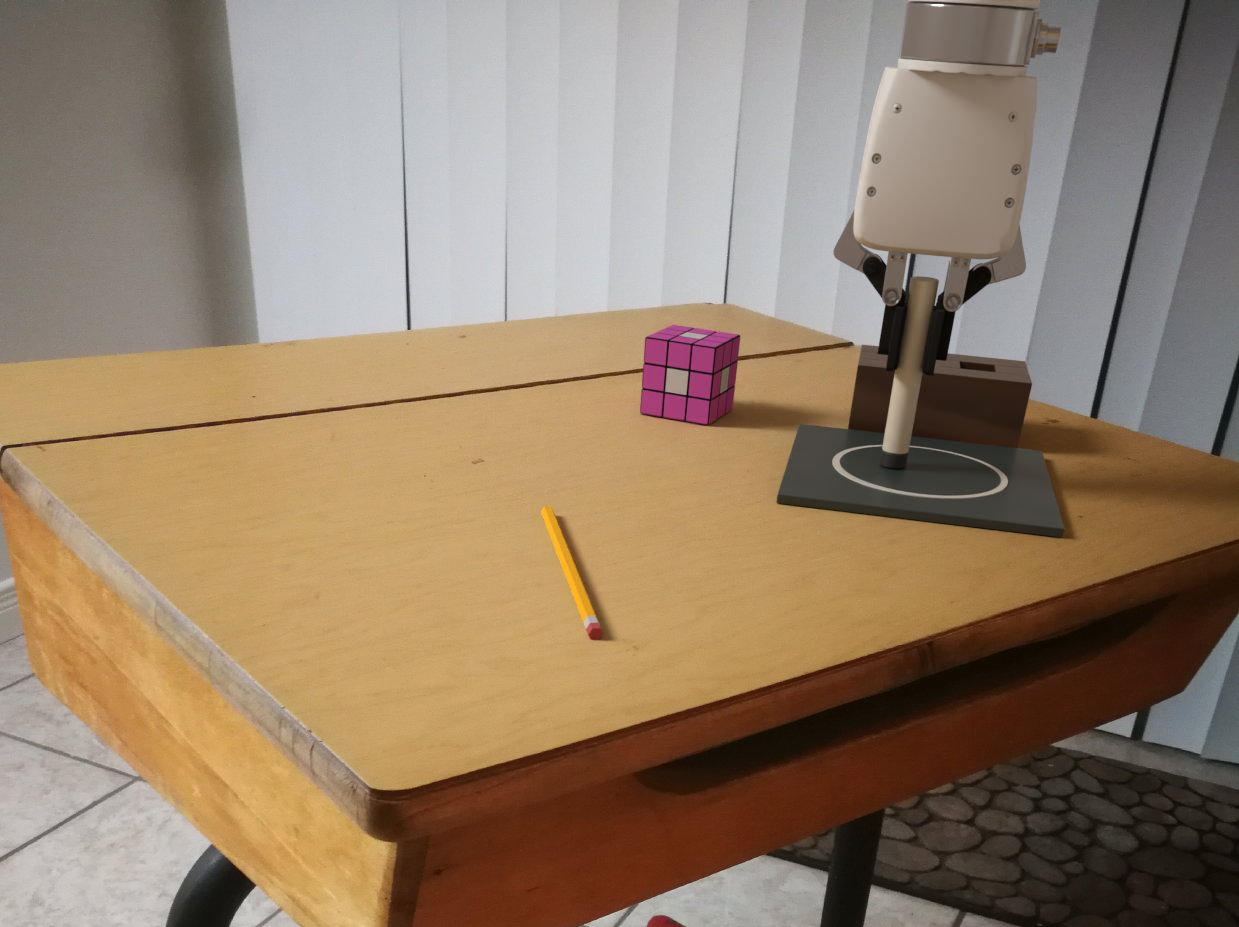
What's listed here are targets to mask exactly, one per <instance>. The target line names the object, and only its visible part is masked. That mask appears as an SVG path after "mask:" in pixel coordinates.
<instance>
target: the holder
mask: <svg viewBox="0 0 1239 927" xmlns="http://www.w3.org/2000/svg"><path fill="white" fill-rule="evenodd" d="M878 347H879V345H872V344H861V347H860V352H859V358H858V363H857V369H856V375H855V380H854V388H853V394H852V400H851V407H850V413H849V418H848V419H849V420H848V426H847V429H851V430H860V431H869V432H878V433H885V429H886V423H887V417H888V411H889V405H890V399H891V393H892V387H893V381H894V375H895V370H894V371H893V372H891V371H886V364H887V357H888V355H881V354H878ZM1032 387H1033V382H1032V378H1031V376H1030V372H1029V370H1028V366H1027V362H1026V361H1025V360H1018V359H1017V360H1016V359H1007V358H996V357H995V358H994V357H986V356H977V355H967V354H959V353H958V354H957V353H950V352H948V355H947V359H946V361H942V360H936V363H935V369H934V374H933V376H930V375H925V373H922V379H921V384H920V390H919V396H918V401H917V407H916V413H915V418H914V424H913V429H912V435H911V436H913V437H922V438H931V439H940V440H949V441H958V442H967V443H976V444H985V445H994V446H1003V447H1012V448H1019V444H1020V439H1021V435H1022V430H1023V426H1024V422H1025V417H1026V413H1027V409H1028V405H1029V399H1030V395H1031V392H1032Z"/></svg>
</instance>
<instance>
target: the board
mask: <svg viewBox="0 0 1239 927" xmlns="http://www.w3.org/2000/svg"><path fill="white" fill-rule="evenodd" d="M884 435H885V433H878V432H869V431H860V430H851V429H848V428H842V427H841V428H840V427H834V426H833V427H832V426H823V425H816V424H815V425H814V424H805V423H799V424H798V427H797V431H796V434H795V438H794V441H793V444H792V447H791V450H790V454H789V456H788V457H789V458H788V460H787V463H786V466H785V468H784V469H785V470H784V473H783V476H782V479H781V483H780V486H779V488H778V492H777V497H776V504H780V505H788V506H789V505H790V506H798V507H805V508H813V509H814V508H815V509H821V510H822V509H823V510H831V511H839V512H845V513H846V512H847V513H856V514H865V515H873V516H879V517H887V518H888V517H889V518H896V519H905V520H911V521H912V520H914V521H920V522H929V523H939V524H946V525H955V526H963V527H972V528H980V529H987V530H994V531H995V530H996V531H1003V532H1011V533H1012V532H1013V533H1021V534H1029V535H1037V536H1044V537H1053V538H1063V537H1064V533H1065V525H1064V522H1063V519H1062V515H1061V512H1060V508H1059V506H1058V502H1057V498H1056V495H1055V491H1054V488H1053V483H1052V481H1051V478H1050V473H1049V470H1048V467H1047V464H1046V460H1045V456H1044V453H1043V451H1042V450H1036V449H1030V448H1019V447H1018V448H1012V447H1003V446H994V445H985V444H976V443H967V442H958V441H949V440H940V439H931V438H922V437H913V436H911V441H910V446H909V452H908V457H907V463H906V467H904V468H900V469H893V468H887V467H884V466H882V465H881V464H880V459H881V453H882V447H883V441H884Z"/></svg>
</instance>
